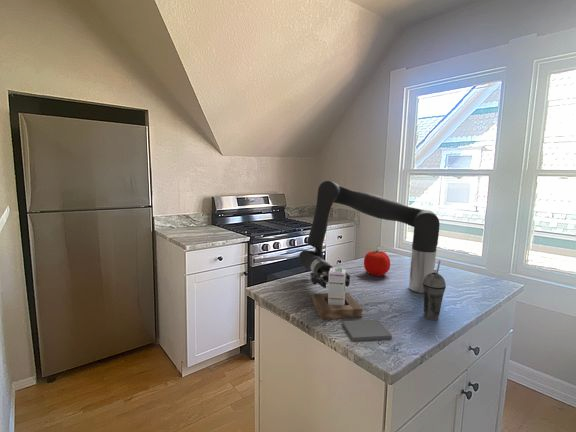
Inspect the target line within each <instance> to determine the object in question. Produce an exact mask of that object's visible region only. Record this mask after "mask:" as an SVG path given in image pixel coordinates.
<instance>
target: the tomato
mask: <svg viewBox="0 0 576 432" xmlns="http://www.w3.org/2000/svg"><path fill="white" fill-rule="evenodd" d="M379 250H380V249H377V250H370V251H368V252H367V253H366V254H365V256H364V257H363V258H364V259H363V266H364V269H365V272H366V273H368V274H369V275H372V276H377V277H378V276H383V275H385V274H387V273H388V272H389V271H390V268H391V259H390V257H389V256H388V254H387V252H385V251H382V250H380V251H379Z"/></svg>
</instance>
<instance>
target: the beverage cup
mask: <svg viewBox="0 0 576 432" xmlns="http://www.w3.org/2000/svg"><path fill="white" fill-rule="evenodd" d="M440 266H441V260H438V263H437V266H436V267H437V268H436V270H437V272H436V273H429V274H428V275H426V276H425V278H424V280H423V290H424V293H423V317H424V318H425V319H427V320H431V321H438V320H439V316H440V313H441V309H442V303H443V299H444V293H445V292H446V288H447V285H446V280H445V278H444V277H443V275H441V274H440V273H439V270H440Z"/></svg>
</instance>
